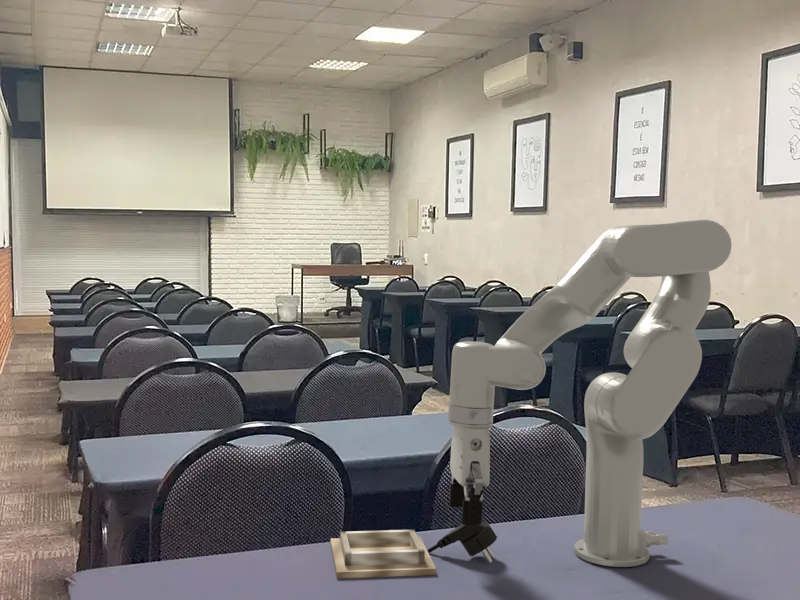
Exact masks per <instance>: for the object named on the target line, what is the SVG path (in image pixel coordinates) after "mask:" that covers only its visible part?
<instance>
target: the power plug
mask: <svg viewBox="0 0 800 600" xmlns="http://www.w3.org/2000/svg"><path fill="white" fill-rule="evenodd" d="M497 539H498V536H497V534H496V533H495V531H494V530H493V529H492V527H491V525H490V524H489V523H488V522H487V521H486V522H485V521H481V524H480V525H463V524H462V523H461V524H460V525H458V526H456V527H455V528H454V529H452V530H451V531H449V532H448V533H446V534H445V535H444V536H443V537H442V538H440V539H438V540H437V543H436V544H434V545H432V546H431V547H429V548H428V549H427V551H428V553H429V554H430V553H432V552H433V551H435V550H437V549H438V548H439V549H443V548H444V547H445V548H446V547H447V546H450V545H452V544H454V543H456V542H458V541H459V542H460V543H461V544H462V546H463V547H464V549H465V551H466V552H467V554H468V556H469V557H474V556H476V555H477V554H480V553H481V554H482V555H483V557H484V559H485V560H486V562H487V563H488V564H493V559H494V558H495V554H494V552H493V551H492V549H491V548H490V547H491V546H492V545H493V544H494V543H495V542H496V541H497Z"/></svg>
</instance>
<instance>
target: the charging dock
mask: <svg viewBox="0 0 800 600" xmlns="http://www.w3.org/2000/svg"><path fill="white" fill-rule="evenodd" d="M339 534H340V535H339V537H338V538H335V537H333V538H332V537H331V538H330V549H331V555H332V558H333V565H334V570H335V572H334V573H335V577H336V579H358V578H359V579H360V578H381V577H382V578H386V577H388V578H389V577H411V576H412V577H414V576H417V577H418V576H436V575H437V567H436V565H435V563H434V561H433V560H432V557H431V556H430V553H428V551H427V550H428V549H427V547H426V546H425V544H424V541H423V539H422V537H421V536H420V535H418V534H417V533H416V531H415V529H388V530H386V529H385V530H357V531H356V530H355V531H353V530H351V531H340V532H339Z"/></svg>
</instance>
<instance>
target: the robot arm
mask: <svg viewBox="0 0 800 600" xmlns="http://www.w3.org/2000/svg"><path fill="white" fill-rule="evenodd" d="M731 251H732V239H731V236H730V234H729V232H728V230H727V229H726V228H725V227H724V226H723V225H721V224H720V223H718V222H716V221H714V220H711V219H710V220H709V219H699V220H696V219H695V220H683V221H681V220H680V221H676V222H670V223H657V224H656V223H655V224H635V225H633V224H631V225H620V226H614V227H611V228H609V229H607V230H606V231H604V232H603V233H601V235H599V237H597V239H595V240H594V242H593V243H592V244H591V245H590V246H589V248H587V249H586V250H585V252H584V253H583V254H582V255H581V257H580V258H579V259H578V260H577V261H576V262H575V263H574V264H573V265H572V266H571V268H570V269H569V270H568V271H567V272H566V273H565V274H564V275H563V277H561V279H560V280H559V281H558V282H557V283H556V284H555V285H554V286H553V287H552V288H551V289H550V290H549V291H547V292H546V293H545V294H543V296H541V298H540V299H539V300H537V301H536V302H535V303H534V304H532V305H531V306H530V307H529V308H528V309H527V310H525V311H524V312H523V313H522V314H521V315H520V316H519V317H518V318H517V319H516V320H515V321H514V323H513V324H511V325H510V327H509V328H508V329H507V330H506V332H505V333H504V334H503V335H502V336H501V337H500V338H499V339H498V340H497V341H496V343H495V344H494V345H493V344H491V343H487V342H483V341H472V340H471V341H470V340H469V341H467V340H466V341H460V342H456V343H455V344H454V345H453V348H452V352H451V365H450V366H451V367H450V383H449V397H448V400H449V401H448V419H447V422H448V424H450V425H452V431H451V432H452V434H451V444H450V445H451V446H450V461H449V465H450V467H449V470H450V473H451V479H450V481H451V482H450V491H449V506H450V507H451V508H462V509H461V524H463V525H480V524H481V522H482V521H483V519H482V517H483V516H482V515H483V501H484V495H483V494H484V490H483V487H488V486H489V484H490V471H491V470H490V467H491V463H490V460H491V457H490V456H491V455H490V453H491V452H490V451H491V449H490V448H491V445H490V444H491V442H490V441H491V440H490V428H491V427H493V423H494V409H495V393H496V392H495V388H496V387H500V388H501V387H502V388H507V389H513V390H517V391H518V390H519V391H524V390H525V391H526V390H529V389H530V390H531V389H533V388H536V387H537V386H538V385H539V384H541V382H542V381H543V379H544V378H545V375H546V370H547V367H546V362H545V359H544V357H543V354H542V353H543V352H544V351H545V350H546V349H547V348H548V347H550V345H551V344H553V343H554V341H556V340H557V339H559V338H560V337H562V336H563V335H565V334H566V333H568V332H571V331H573V330H575V329H577V328H580V327H583V326H584V325H586V324H588V323H589V322H591V321H592V320H594V319H595V318H596V316H597V315H598V314H599V313H600V312H601V311H602V310H603V309H604V308H605V306H606V305H607V304H608V303H609V302H610V301H611V300H612V299H613V298H614V297H615V296H616V294H617V293H618V292H619V291H620V289H621V288H622V287H623V286H624V285H625V284H626V283H627V282H628V280H630V278H654V277H656V278H657V277H661V282H660V285H659V288H658V291H657V292H656V295H655V296H654V298H653V299H652V300H651V303H650V304H649V306H648V308H647V309H646V310H645V311H644V313H643V315H642V316H641V317H640V319H639V321H638V322H637V323H636V324H635V326H634V327H633V329H632V330H631V332H630V334H628V337H627V339H626V340H625V343H624V346H623V356H624V360H625V361H626V363H627V364H628V366H629V367H630V368H631V370H630V371H629V373H628V374H625V373H620V372H613V371H612V372H605V373H602V374H600V375H598V376H596V377H595V378H594V379H593V380H592V381H591V382H590V384H589V385H588V387H587V389H586V391H585V394H584V402H583V404H584V405H583V408H584V409H583V410H584V420H585V421H584V423H585V432H586V434H585V435H586V461H585V489H584V490H585V491H584V492H585V493H584V518H583V519H584V524H583V526H584V527H583V538H581V539H579V540H577V541H576V542H575V544H574V548H573V550H574V553H575V554H576V556H577V557H579V558H580V559H581V560H584V561H586V562H589V563H593V564H595V565H600V566H604V567H613V568H629V567H638V566H641V565H644V564H646V563H648V561H649V559H650V550H649V548H650V547H651V546H667V545H668V543H669V537H668V536H667V534H666V533H655V532H654V530H646V531H644V530H643V529H642V511H643V510H642V509H643V508H642V507H643V506H642V503H643V502H642V501H643V481H644V480H643V475H644V472H643V471H644V441H643V440H645V439H648V438H651V437H652V436H653V435H655V434H656V433H657V432H658V431H659V430H660V429H661V428H662V427H663V426H664V425H665V423H666V422H667V420H668V419H669V418H670V416H671V415H672V414H673V412H674V410H675V409H676V408H677V406H678V405H679V404H680V402H681V400H682V398H683V397H684V396H685V394H686V392H687V391H688V390H689V388H690V387H691V385H692V384H693V382H694V381H695V379H696V377H697V375H698V374H699V371H700V368H701V364H702V360H703V350H702V346H701V343H700V341H699V338H697V337H696V335H695V334H694V332H695V330H696V328H697V327H698V325H699V324H700V321H701V320H702V319H703V317H704V315H705V313H706V311H707V309H708V306H709V304H710V300H711V293H712V289H711V288H712V287H711V285H712V283H711V277H710V276H711V275H710V272H712V271H714V270H717V269H718V268H719V267H721V266H723V265H724V264H725V262H726V261H727V260H728V259H729V257H730V255H731Z"/></svg>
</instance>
